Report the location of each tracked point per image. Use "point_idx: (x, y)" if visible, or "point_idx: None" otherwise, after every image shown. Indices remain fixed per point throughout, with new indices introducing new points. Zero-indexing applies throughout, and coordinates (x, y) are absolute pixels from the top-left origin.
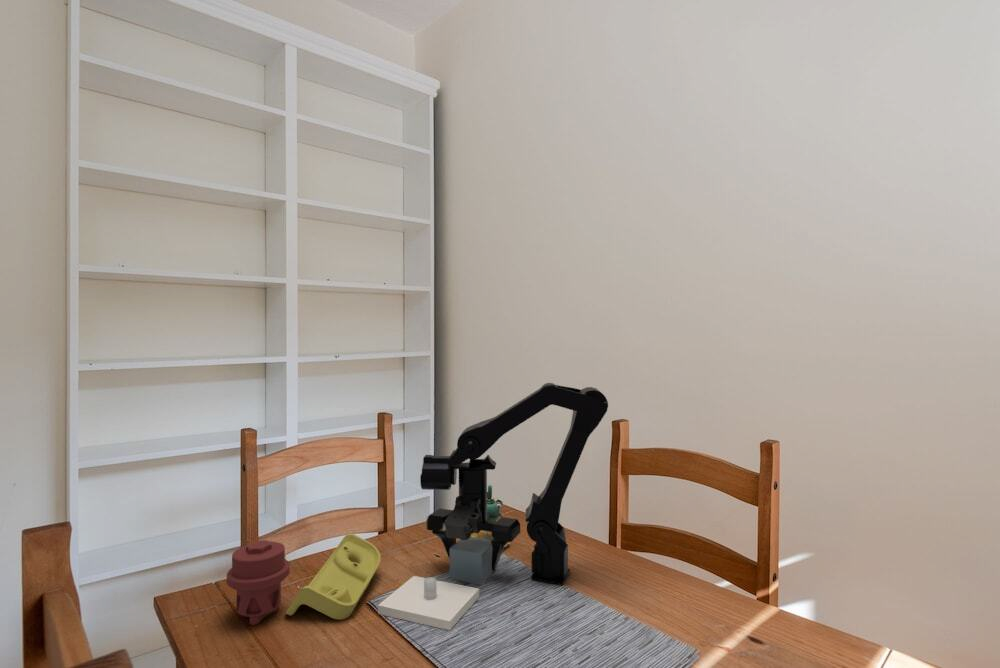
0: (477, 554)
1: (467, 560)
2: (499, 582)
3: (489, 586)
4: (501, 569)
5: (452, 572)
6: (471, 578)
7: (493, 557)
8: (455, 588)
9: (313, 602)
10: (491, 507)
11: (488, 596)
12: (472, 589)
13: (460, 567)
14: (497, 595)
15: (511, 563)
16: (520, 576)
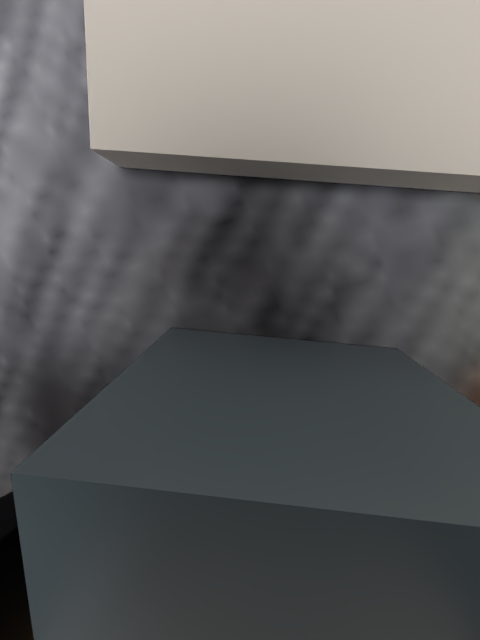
0: (101, 464)
1: (277, 411)
2: (87, 381)
3: (120, 321)
4: None
5: (396, 363)
6: (238, 341)
7: (14, 515)
8: (282, 80)
9: None
10: None
11: (71, 194)
12: (136, 115)
13: (342, 377)
14: (27, 226)
15: None
16: None
